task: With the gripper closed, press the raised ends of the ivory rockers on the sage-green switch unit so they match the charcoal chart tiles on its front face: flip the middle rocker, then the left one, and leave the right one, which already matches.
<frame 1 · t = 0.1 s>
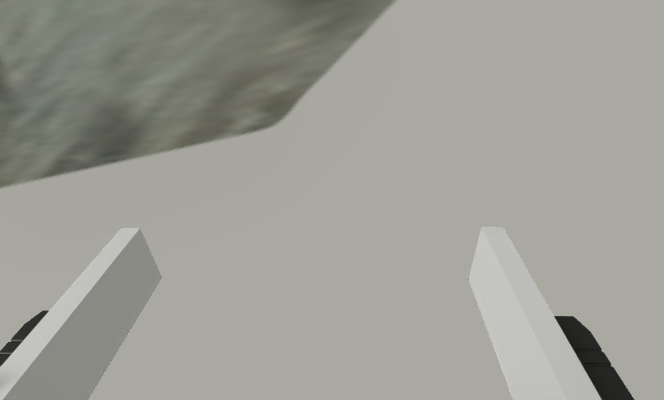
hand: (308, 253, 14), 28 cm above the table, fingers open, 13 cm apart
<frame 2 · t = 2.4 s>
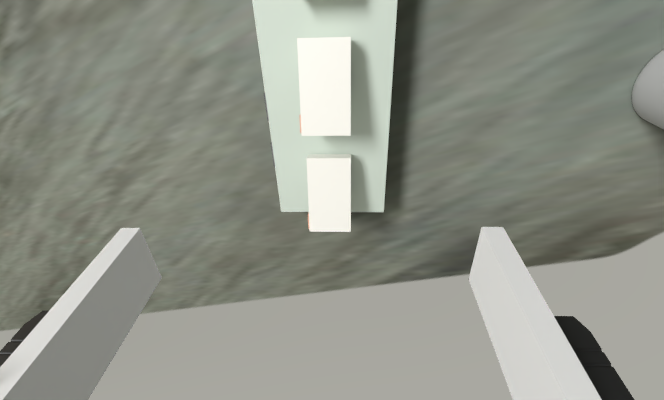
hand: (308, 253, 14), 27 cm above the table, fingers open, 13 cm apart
switch unit: (329, 70, 36), on the table
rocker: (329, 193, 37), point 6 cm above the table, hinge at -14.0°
rocker middle: (324, 88, 31), point 6 cm above the table, hinge at -14.0°
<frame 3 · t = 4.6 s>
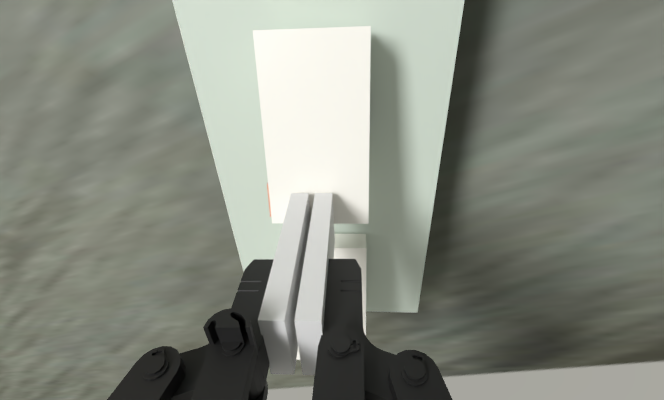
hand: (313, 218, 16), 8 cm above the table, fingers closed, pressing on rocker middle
switch unit: (327, 87, 20), on the table
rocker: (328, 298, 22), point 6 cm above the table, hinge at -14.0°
rocker middle: (316, 131, 15), point 6 cm above the table, hinge at -12.8°, touching gripper
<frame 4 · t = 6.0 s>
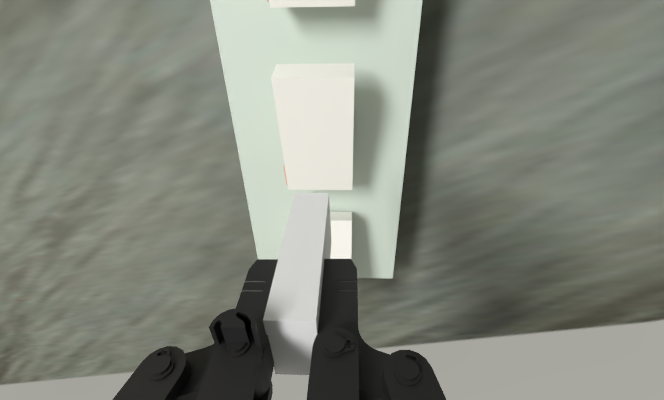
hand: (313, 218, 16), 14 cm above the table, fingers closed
switch unit: (323, 101, 27), on the table
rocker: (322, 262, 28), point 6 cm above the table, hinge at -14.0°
rocker middle: (316, 133, 22), point 6 cm above the table, hinge at 10.6°
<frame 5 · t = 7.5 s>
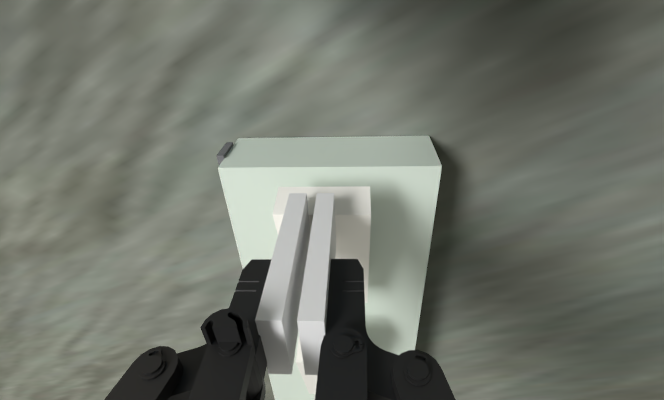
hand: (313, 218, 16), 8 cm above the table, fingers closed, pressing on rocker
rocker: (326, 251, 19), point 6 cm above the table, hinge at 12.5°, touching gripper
switch unit: (338, 299, 30), on the table
rocker middle: (334, 367, 25), point 6 cm above the table, hinge at 15.5°
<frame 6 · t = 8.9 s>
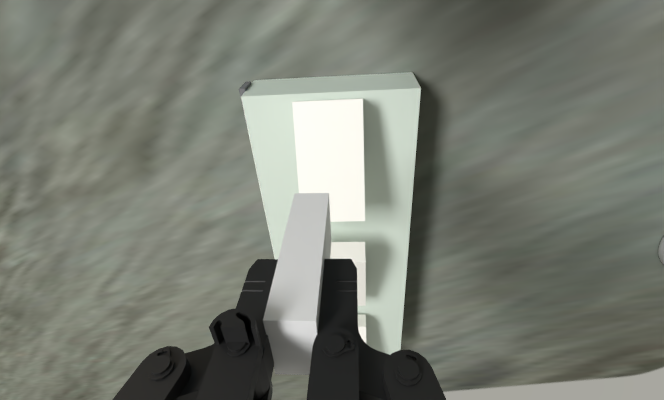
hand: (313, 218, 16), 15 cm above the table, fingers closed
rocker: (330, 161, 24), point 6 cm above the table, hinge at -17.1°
switch unit: (341, 230, 35), on the table
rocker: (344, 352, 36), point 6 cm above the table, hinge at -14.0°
rocker middle: (338, 276, 30), point 6 cm above the table, hinge at 16.6°
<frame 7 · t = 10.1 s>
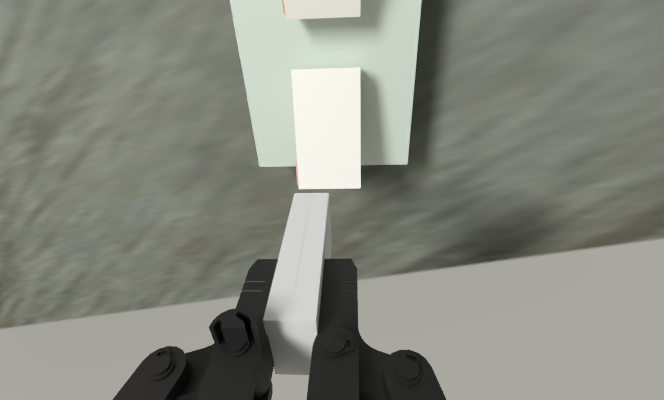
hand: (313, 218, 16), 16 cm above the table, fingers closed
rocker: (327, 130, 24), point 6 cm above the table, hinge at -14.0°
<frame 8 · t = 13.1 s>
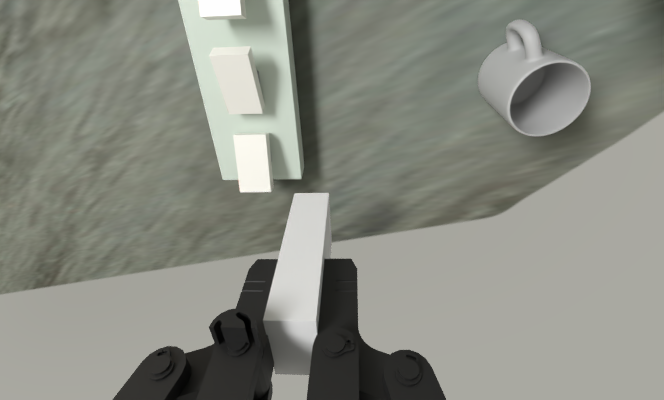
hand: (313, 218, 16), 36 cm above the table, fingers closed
switch unit: (251, 69, 48), on the table
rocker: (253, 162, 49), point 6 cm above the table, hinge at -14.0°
mug: (507, 61, 46), on the table
rocker middle: (238, 82, 43), point 6 cm above the table, hinge at 17.0°
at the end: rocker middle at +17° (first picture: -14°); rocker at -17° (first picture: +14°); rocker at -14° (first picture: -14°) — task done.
